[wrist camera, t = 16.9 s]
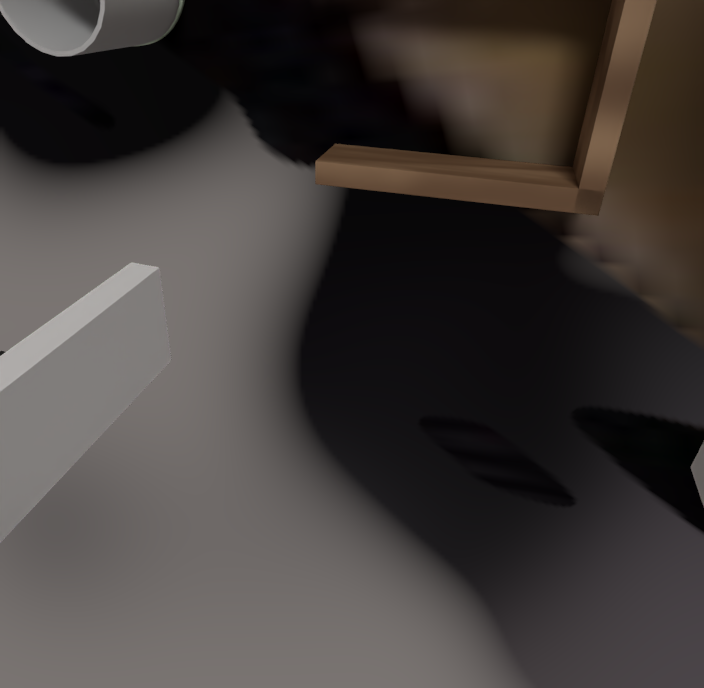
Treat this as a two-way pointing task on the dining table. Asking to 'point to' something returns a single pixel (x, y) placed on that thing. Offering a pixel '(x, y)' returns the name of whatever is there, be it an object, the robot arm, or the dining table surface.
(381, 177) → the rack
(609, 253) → the dining table surface
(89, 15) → the cup
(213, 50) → the dining table surface
